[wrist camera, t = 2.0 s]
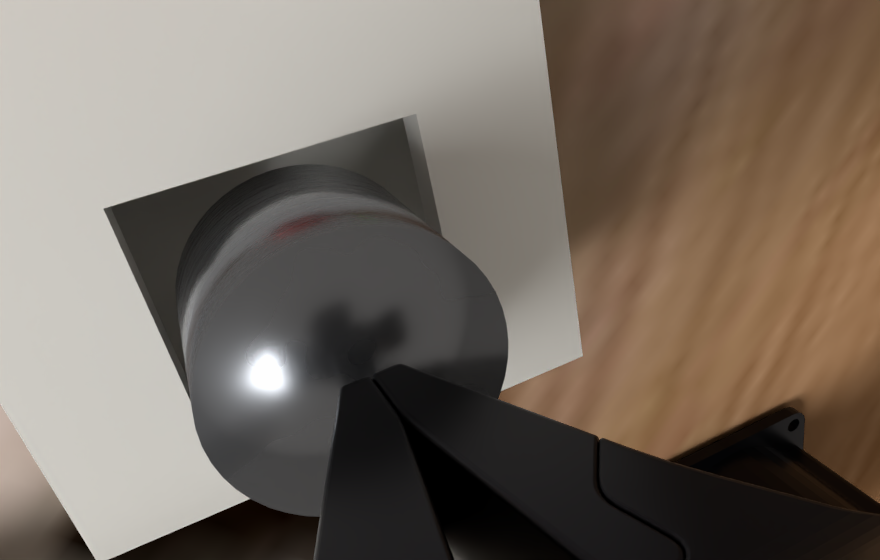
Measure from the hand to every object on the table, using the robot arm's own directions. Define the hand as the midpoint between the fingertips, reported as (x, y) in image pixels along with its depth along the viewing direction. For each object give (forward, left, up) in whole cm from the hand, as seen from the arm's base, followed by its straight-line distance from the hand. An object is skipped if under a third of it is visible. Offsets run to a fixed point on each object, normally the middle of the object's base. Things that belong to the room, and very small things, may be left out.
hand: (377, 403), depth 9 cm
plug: (0, 0, -4) cm, 4 cm away
